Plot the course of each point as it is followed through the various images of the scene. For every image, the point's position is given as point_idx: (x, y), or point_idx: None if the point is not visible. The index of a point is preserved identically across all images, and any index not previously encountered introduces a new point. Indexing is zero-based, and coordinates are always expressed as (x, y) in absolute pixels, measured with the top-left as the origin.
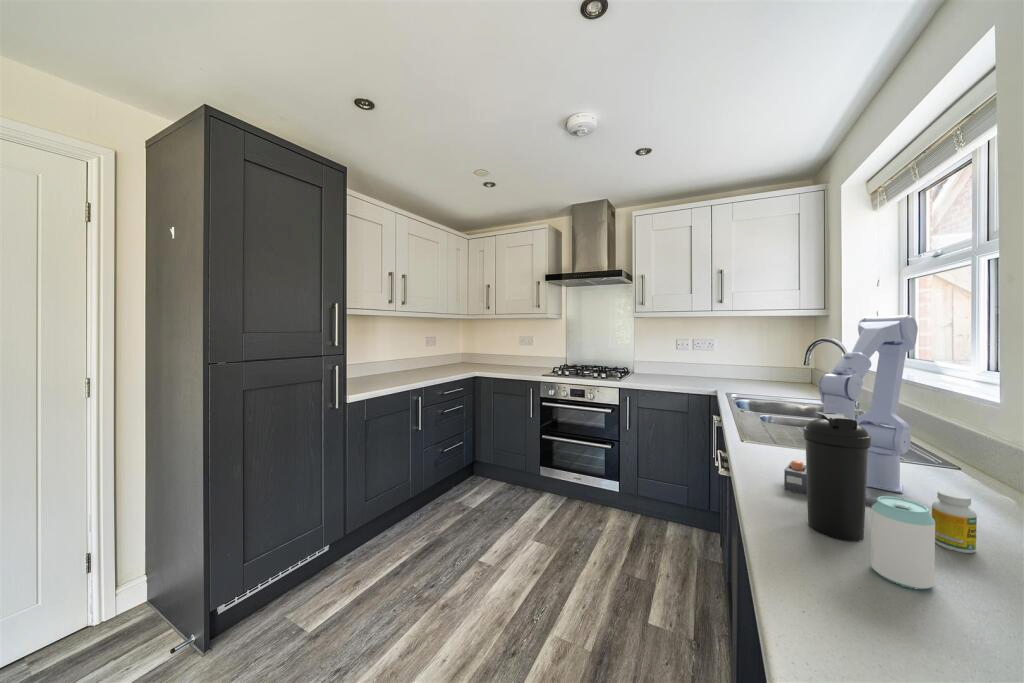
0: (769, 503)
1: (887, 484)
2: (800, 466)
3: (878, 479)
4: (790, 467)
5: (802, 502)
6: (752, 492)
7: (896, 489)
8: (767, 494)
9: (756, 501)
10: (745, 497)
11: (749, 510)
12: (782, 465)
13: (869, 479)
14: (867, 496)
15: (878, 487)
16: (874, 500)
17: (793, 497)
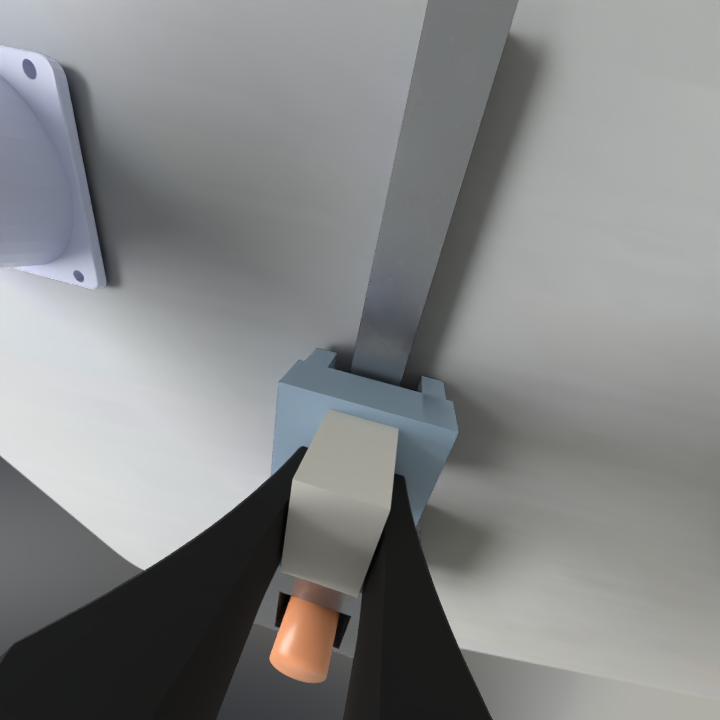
0: (580, 628)
1: (23, 138)
2: (327, 644)
3: (14, 191)
4: (280, 610)
5: (518, 546)
6: (481, 636)
7: (33, 88)
8: (479, 610)
9: (574, 650)
10: (545, 662)
11: (681, 685)
12: (101, 497)
13: (35, 238)
14: (377, 323)
15: (84, 198)
16: (424, 298)
17: (470, 555)
